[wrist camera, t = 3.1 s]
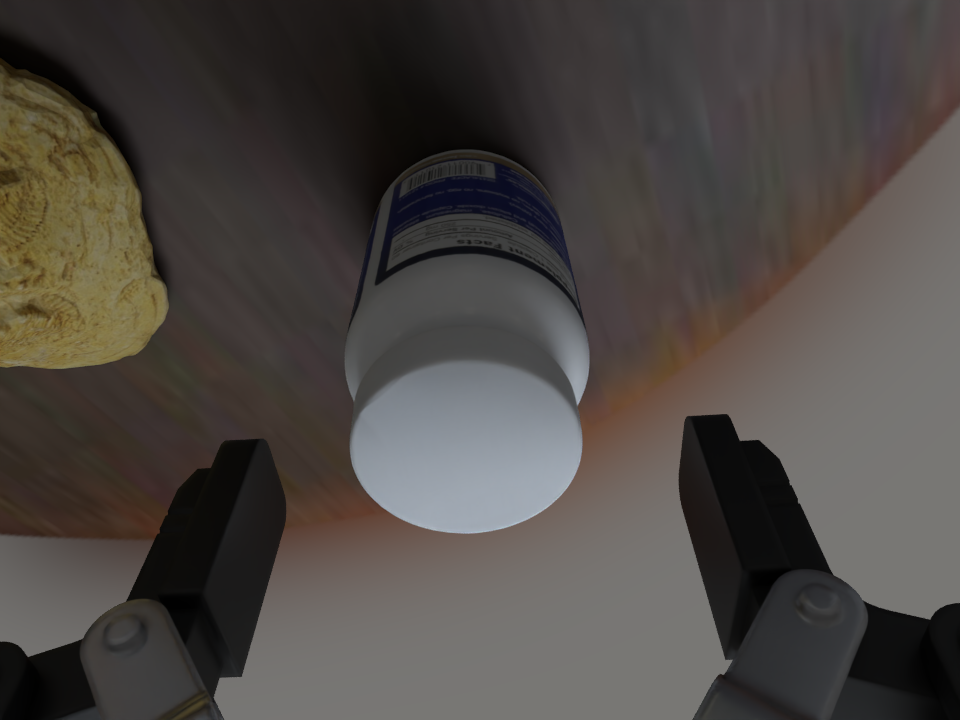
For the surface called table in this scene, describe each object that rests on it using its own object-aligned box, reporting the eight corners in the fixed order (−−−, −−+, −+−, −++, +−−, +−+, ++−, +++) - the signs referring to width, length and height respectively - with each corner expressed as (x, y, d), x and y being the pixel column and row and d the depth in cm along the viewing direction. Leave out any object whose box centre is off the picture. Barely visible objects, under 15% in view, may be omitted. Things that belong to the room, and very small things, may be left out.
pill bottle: (491, 341, 25) (499, 585, 17) (340, 256, 23) (269, 486, 15) (600, 210, 22) (669, 427, 14) (439, 102, 21) (415, 282, 12)
